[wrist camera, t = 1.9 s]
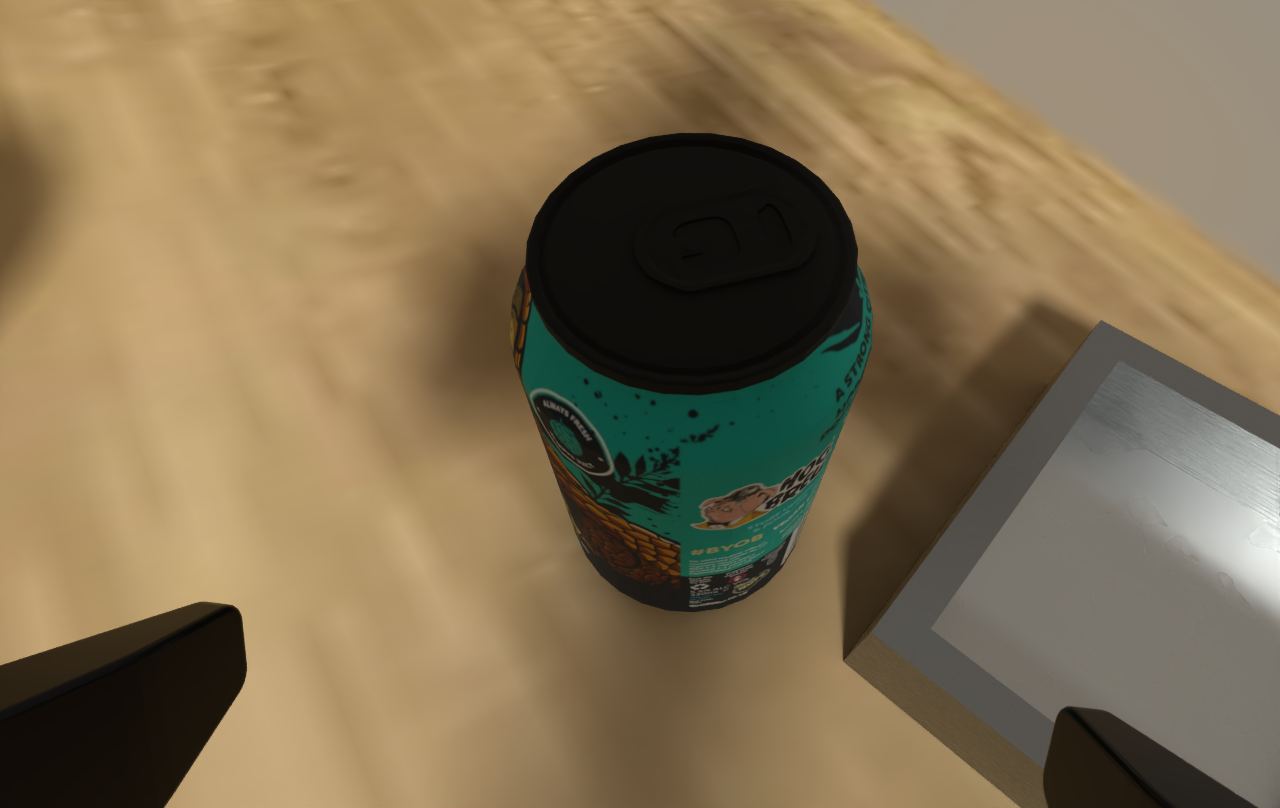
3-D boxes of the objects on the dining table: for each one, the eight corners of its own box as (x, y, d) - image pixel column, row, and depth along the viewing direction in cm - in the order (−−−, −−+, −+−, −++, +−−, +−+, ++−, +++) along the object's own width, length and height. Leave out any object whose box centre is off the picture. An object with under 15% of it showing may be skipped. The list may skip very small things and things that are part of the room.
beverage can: (557, 435, 25) (465, 148, 14) (757, 388, 25) (810, 78, 15) (601, 646, 21) (522, 469, 11) (833, 585, 22) (972, 361, 11)
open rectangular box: (1461, 623, 20) (1599, 587, 17) (1304, 1039, 16) (1448, 1089, 13) (1049, 382, 25) (1101, 319, 22) (843, 661, 20) (870, 632, 17)
